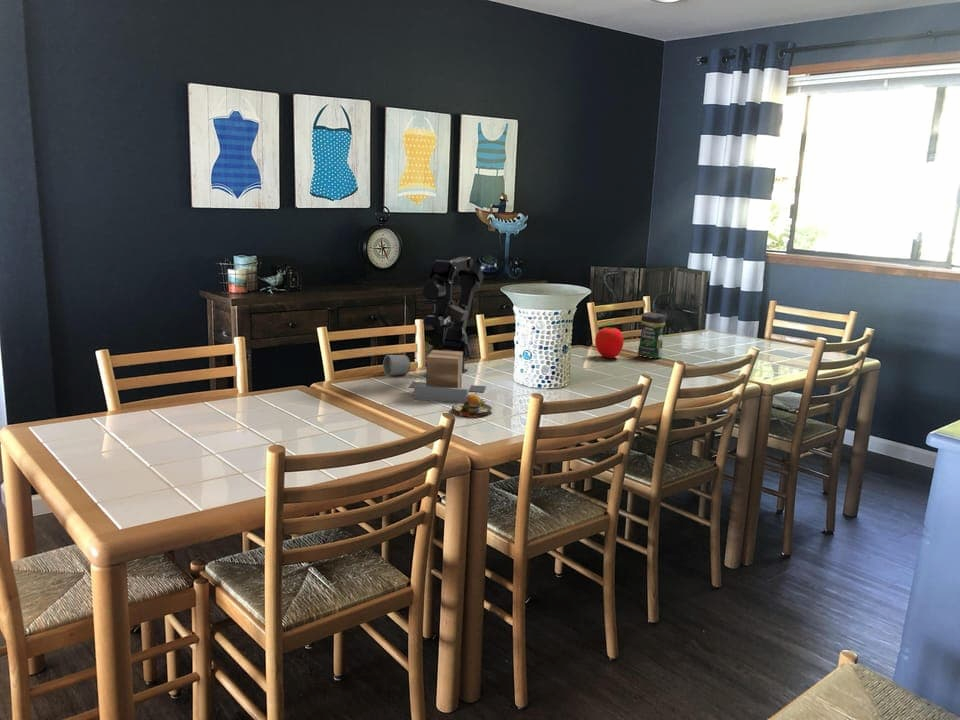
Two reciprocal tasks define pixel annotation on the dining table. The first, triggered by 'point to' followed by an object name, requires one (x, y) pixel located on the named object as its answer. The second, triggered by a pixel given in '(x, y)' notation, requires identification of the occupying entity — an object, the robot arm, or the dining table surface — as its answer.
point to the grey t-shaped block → (440, 393)
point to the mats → (472, 389)
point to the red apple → (609, 342)
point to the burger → (472, 407)
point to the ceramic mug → (396, 365)
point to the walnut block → (444, 369)
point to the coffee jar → (651, 335)
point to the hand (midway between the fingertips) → (441, 342)
